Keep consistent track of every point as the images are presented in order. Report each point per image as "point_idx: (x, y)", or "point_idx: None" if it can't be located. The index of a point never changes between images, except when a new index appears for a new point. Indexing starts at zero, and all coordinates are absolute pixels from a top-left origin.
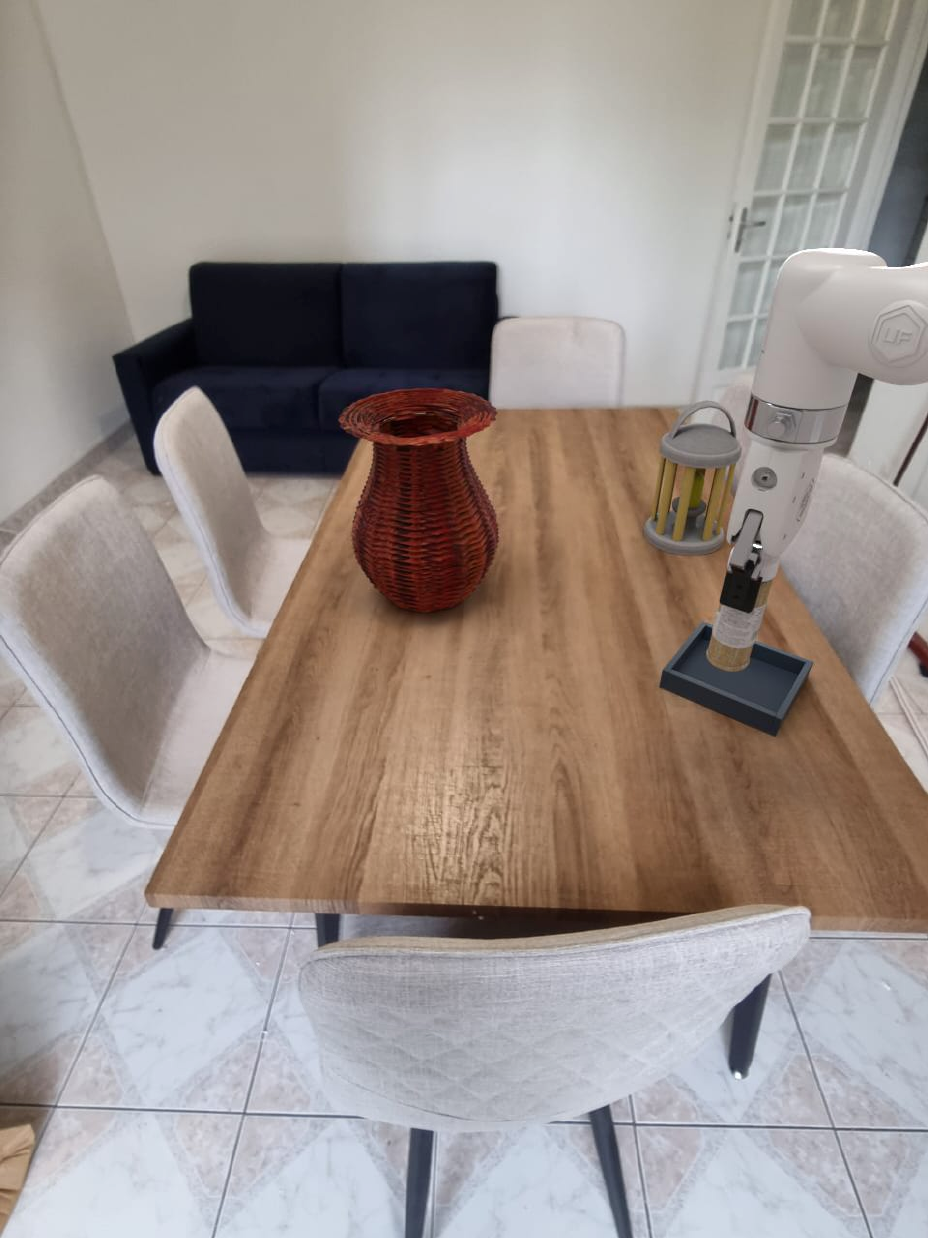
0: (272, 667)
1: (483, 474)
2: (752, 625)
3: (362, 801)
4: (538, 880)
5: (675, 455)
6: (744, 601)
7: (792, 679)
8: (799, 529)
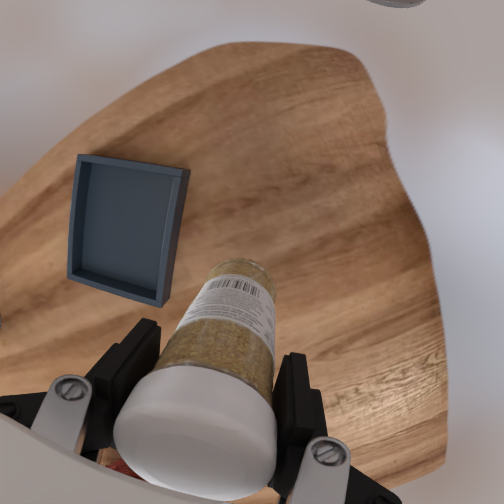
0: None
1: None
2: (262, 312)
3: (388, 442)
4: (429, 332)
5: None
6: (318, 395)
7: (100, 168)
8: (53, 454)
